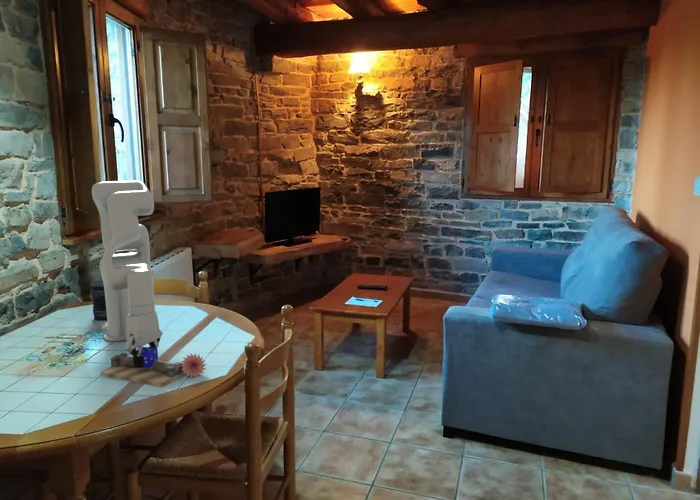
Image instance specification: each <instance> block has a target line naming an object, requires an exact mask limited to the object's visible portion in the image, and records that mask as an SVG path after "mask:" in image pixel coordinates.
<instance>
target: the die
mask: <svg viewBox="0 0 700 500" xmlns="http://www.w3.org/2000/svg"><path fill="white" fill-rule="evenodd" d="M136 351H138V349H136ZM157 351H158V348H157V349H156V347H150V346H142V351H141V355H142V356H143V368H151V367H152V364H153V363H154V362H155V361H157Z"/></svg>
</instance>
